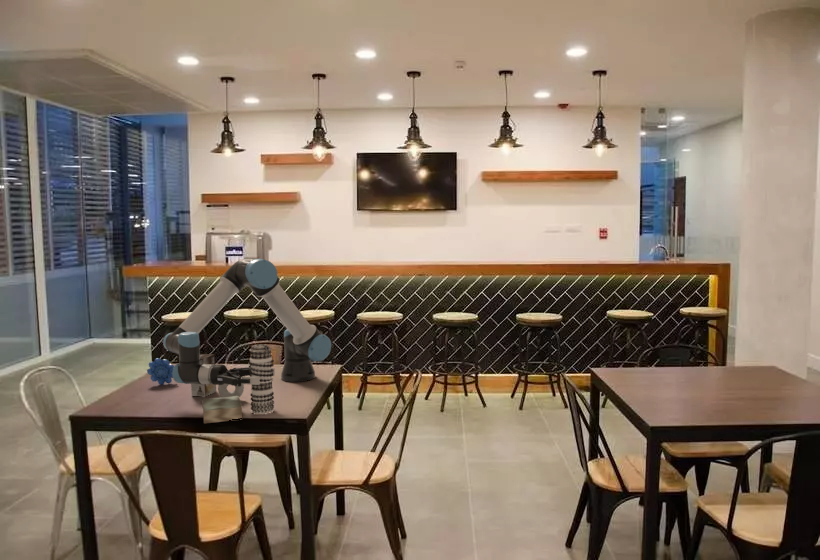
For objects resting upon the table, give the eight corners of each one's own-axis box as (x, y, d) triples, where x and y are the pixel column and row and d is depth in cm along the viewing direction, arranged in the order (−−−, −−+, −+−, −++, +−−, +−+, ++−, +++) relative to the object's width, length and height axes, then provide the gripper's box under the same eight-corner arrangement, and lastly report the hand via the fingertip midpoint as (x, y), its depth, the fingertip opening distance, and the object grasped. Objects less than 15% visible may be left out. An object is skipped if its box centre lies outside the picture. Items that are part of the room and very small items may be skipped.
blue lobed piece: (148, 388, 269) (146, 361, 267) (147, 384, 275) (146, 358, 274) (176, 385, 273) (175, 358, 272) (175, 381, 279) (174, 355, 278)
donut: (217, 402, 246) (216, 377, 245) (218, 400, 249) (217, 375, 248) (244, 400, 247) (243, 376, 247) (244, 398, 251) (243, 374, 250)
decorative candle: (273, 414, 228) (271, 347, 226) (247, 415, 228) (245, 347, 226) (277, 407, 237) (275, 342, 235) (252, 408, 237) (250, 343, 235)
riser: (239, 408, 237) (238, 395, 236) (242, 419, 223) (241, 405, 223) (203, 412, 232) (202, 399, 232) (203, 423, 219) (203, 409, 219)
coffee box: (202, 391, 263) (201, 353, 262) (216, 391, 262) (215, 354, 260) (191, 397, 254) (189, 358, 253) (205, 397, 253) (203, 358, 252)
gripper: (229, 376, 247) (280, 378, 244) (197, 393, 223) (252, 395, 219) (229, 357, 247) (279, 359, 243) (196, 372, 222) (252, 374, 218)
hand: (267, 376), depth 231 cm, fingers open, 13 cm apart
